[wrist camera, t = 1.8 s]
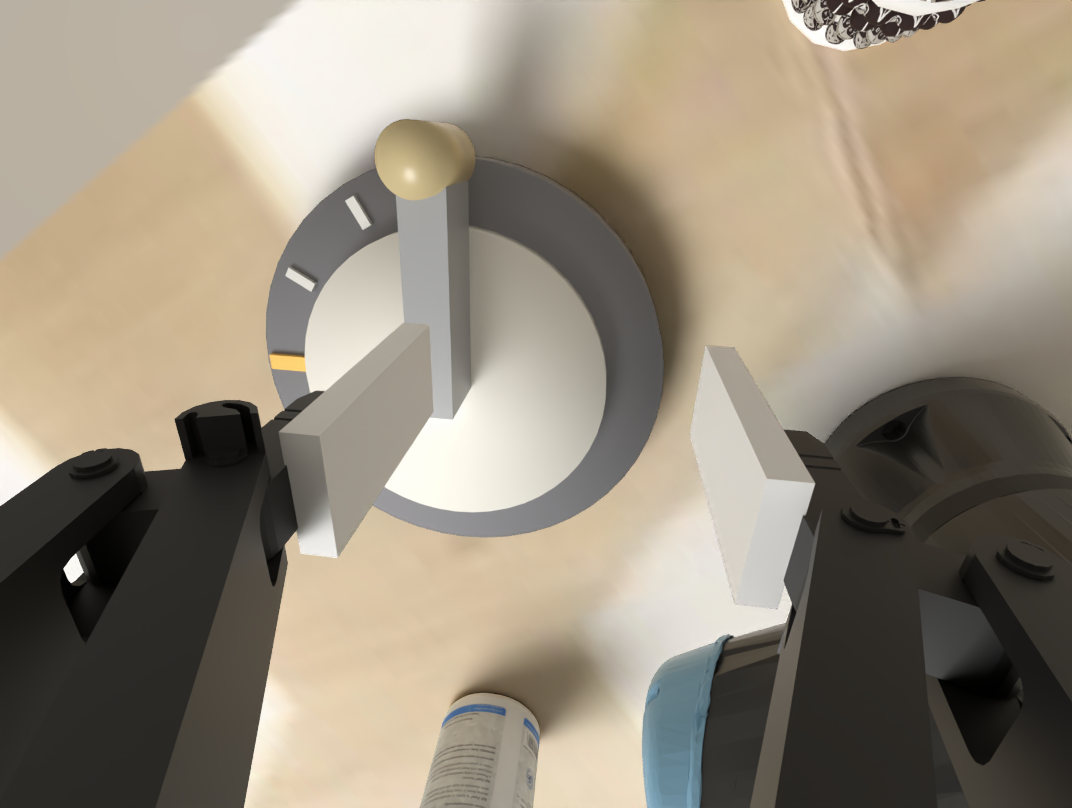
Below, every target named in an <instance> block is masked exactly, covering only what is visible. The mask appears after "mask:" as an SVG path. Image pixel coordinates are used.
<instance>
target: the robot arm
mask: <svg viewBox="0 0 1072 808" xmlns="http://www.w3.org/2000/svg"><path fill="white" fill-rule="evenodd" d="M432 413H433V390H432V369H431V347H430V326H429V325H427V324H413V323H402V324H401V325H400V326H399V327H398V328H397V329H396V330H394V331H393V332H392V333H391V334H390V335H389V336H388V337H386V338H385V339H384V340H383V341H382V342H381V343H380V344H378V345H377V346H376V347H375V348H374V349H373V350H372V351H370V352H369V353H368V354H367V355H366V356H365V357H364V358H362V359H361V360H360V361H359V362H358V363H357V364H356V365H354V366H353V367H352V368H351V369H350V370H349V371H348V372H346V373H345V374H344V375H343V376H342V377H341V378H340V379H339V380H337V381H336V382H335V383H334V384H333V385H332V386H331V387H329V388H328V389H327V390H326V391H317V390H316V391H314V392H311V393H309V394H307V395H305V396H302V397H300V398H298V399H296V400H295V401H294V402H292V403H291V404H290V405H289V406H288V407H286V408H285V411H282V412H280V413H279V414H278V415H277V416H275V417H274V420H271V421H269V422H268V423H267V424H266V425H265V426H263V427H262V428H261V424H260V419H259V414H258V409H257V407H256V406H255V405H253V404H252V403H250V402H245V401H240V400H223V401H216V402H209V403H206V404H202V405H199V406H195V407H193V408H191V409H189V410H187V411H184V412H182V413H181V414H180V415H179V416H178V417H177V418H176V419H175V423H176V426H177V430H178V434H179V437H180V441H181V445H182V448H183V452H184V456H185V459H186V461H185V462H184V464H183V466H182V468H181V469H173V470H160V471H148V472H144V469H143V466H142V462H141V459H140V456H139V454H138V453H136V452H134V451H133V450H129V449H121V448H116V449H106V448H104V449H97V450H96V451H94V450H92V451H88V452H85V453H83V454H81V455H80V456H77V457H74V458H71V459H69V460H67V461H65V462H63V463H62V464H60V465H58V466H56V467H55V468H53V469H52V470H50V471H49V472H48V473H46V474H45V475H43V476H42V477H41V478H39V479H38V480H36V481H35V482H34V483H32V484H31V485H29V486H28V487H27V488H25V489H24V490H22V491H21V492H20V493H18V494H17V495H15V496H14V497H13V498H11V499H10V500H8V501H7V502H6V503H4V504H3V505H1V506H0V808H244V803H245V798H246V792H247V787H248V781H249V775H250V770H251V764H252V759H253V753H254V748H255V742H256V737H257V731H258V725H259V720H260V714H261V709H262V703H263V698H264V692H265V687H266V681H267V676H268V670H269V664H270V659H271V653H272V648H273V642H274V637H275V631H276V626H277V620H278V614H279V609H280V603H281V598H282V592H283V587H284V581H285V576H286V570H287V564H288V562H287V555H286V550H285V544H286V542H287V541H288V540H289V539H290V537H291V536H292V535H293V534H294V532H295V531H296V530H297V536H298V541H299V546H300V552H301V554H308V555H317V556H325V557H334V558H338V557H339V555H340V554H341V552H342V551H343V549H344V547H345V546H346V544H347V543H348V541H349V540H350V538H351V537H352V535H353V534H354V532H355V531H356V529H357V528H358V526H359V525H360V523H361V522H362V520H363V518H364V517H365V515H366V514H367V512H368V511H369V509H370V508H371V506H372V505H373V503H374V502H375V500H376V499H377V497H378V496H379V494H380V493H381V491H382V490H383V488H384V486H385V485H386V483H387V482H388V480H389V479H390V477H391V476H392V474H393V473H394V471H395V470H396V468H397V467H398V465H399V464H400V462H401V461H402V459H403V458H404V456H405V454H406V453H407V451H408V450H409V448H410V447H411V445H412V444H413V442H414V441H415V439H416V438H417V436H418V435H419V433H420V432H421V430H422V429H423V427H424V425H425V424H426V422H427V421H428V419H429V418H430V416H431V415H432ZM690 438H691V441H692V445H693V449H694V453H695V456H696V460H697V464H698V468H699V472H700V475H701V479H702V483H703V487H704V490H705V494H706V498H707V502H708V505H709V509H710V513H711V517H712V521H713V524H714V528H715V532H716V536H717V539H718V543H719V547H720V551H721V554H722V558H723V562H724V566H725V570H726V573H727V577H728V581H729V585H730V588H731V592H732V596H733V600H734V603H735V604H737V605H745V606H754V607H763V608H771V609H778V605H779V602H780V599H781V596H782V592H783V589H784V586H786V588H787V591H788V594H789V596H790V599H791V601H792V606H791V609H790V612H789V616H788V619H787V622H786V623H784V624H780V625H777V626H773V627H770V628H766V629H762V630H759V631H755V632H752V633H748V634H745V635H741V636H738V637H734V636H731V635H729V634H728V635H724V636H722V637H720V638H718V640H717V641H716V642H715V643H712V644H709V645H706V646H703V647H701V648H698V649H695V650H692V651H689V652H686V653H683V654H680V655H677V656H675V657H673V658H671V659H669V660H668V661H666V662H665V663H664V664H663V665H662V666H661V667H660V668H659V669H658V671H657V672H656V674H655V676H654V677H653V679H652V682H651V684H650V687H649V690H648V694H647V699H646V705H645V712H644V717H643V732H642V758H643V774H644V785H645V794H646V802H647V808H1072V438H1071V436H1070V435H1069V433H1068V432H1067V430H1066V429H1065V428H1064V426H1063V425H1062V424H1061V423H1060V422H1059V421H1058V420H1057V419H1056V418H1055V417H1054V416H1053V415H1052V414H1050V413H1049V412H1048V411H1047V410H1045V409H1044V408H1042V407H1041V406H1039V405H1038V404H1036V403H1035V402H1033V401H1031V400H1030V399H1028V398H1027V397H1025V396H1023V395H1022V394H1020V393H1018V392H1016V391H1015V390H1013V389H1011V388H1008V387H1006V386H1004V385H1001V384H998V383H994V382H990V381H986V380H981V379H974V378H939V379H932V380H926V381H921V382H917V383H913V384H910V385H906V386H903V387H900V388H898V389H895V390H893V391H890V392H888V393H886V394H884V395H881V396H880V397H878V398H876V399H874V400H872V401H871V402H869V403H867V404H866V405H864V406H863V407H861V408H860V409H858V410H857V411H856V412H854V413H853V414H852V415H851V416H849V417H848V418H847V419H846V420H845V421H844V422H843V423H842V424H841V425H840V426H839V427H838V428H837V429H836V430H835V431H834V432H833V434H832V435H831V436H830V437H829V439H828V440H827V441H826V443H825V444H823V443H822V442H821V441H819V440H818V439H816V438H815V437H813V436H812V435H810V434H809V433H808V432H804V431H793V430H783V428H782V426H781V425H780V423H779V421H778V420H777V418H776V416H775V415H774V413H773V411H772V410H771V408H770V406H769V405H768V403H767V401H766V399H765V398H764V396H763V394H762V393H761V391H760V389H759V388H758V386H757V384H756V383H755V381H754V379H753V378H752V376H751V374H750V373H749V371H748V369H747V367H746V366H745V364H744V362H743V361H742V359H741V357H740V356H739V354H738V352H737V351H736V349H735V347H722V346H708V345H706V346H705V352H704V357H703V363H702V369H701V374H700V380H699V385H698V391H697V397H696V402H695V408H694V413H693V419H692V425H691V430H690ZM75 554H77V556H78V559H79V561H80V564H81V566H82V569H83V571H84V573H83V574H82V575H81V576H80V577H79V578H78V579H77V580H76V581H74V582H73V583H70V582H69V581H68V579H67V577H66V574H65V572H64V570H63V568H64V567H65V566H66V564H67V563H68V561H69V560H70V559H71V557H72V556H74V555H75Z"/></svg>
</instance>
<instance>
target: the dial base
mask: <svg viewBox="0 0 1072 808" xmlns="http://www.w3.org/2000/svg"><path fill="white" fill-rule="evenodd" d="M475 157H476V161H475V168H474V171H473V174H472V176H471V177H470V179H469V180H468V195H469V226H476V227H480V228H484V229H488V230H491V231H495V232H498V233H500V234H503V235H505V236H508V237H510V238H512V239H515V240H517V241H519V242H521V243H522V244H524V245H526V246H528V247H529V248H531V249H533V250H534V251H536V252H537V253H539V254H540V255H541V256H543V257H544V258H545V259H547V260H548V261H549V262H550V263H552V264H553V265H554V266H555V267H556V268H557V269H558V270H559V271H560V272H561V273H562V274H563V275H564V276H565V277H566V278H567V279H568V280H569V281H570V282H571V284H572V285H573V286H574V288H575V289H576V290H577V292H578V293H579V294H580V295H581V297H582V299H583V300H584V302H585V304H586V305H587V307H588V309H589V311H590V312H591V314H592V316H593V319H594V321H595V324H596V326H597V329H598V331H599V334H600V337H601V341H602V345H603V349H604V354H605V363H606V400H605V406H604V412H603V417H602V420H601V423H600V426H599V430H598V433H597V435H596V437H595V439H594V441H593V443H592V445H591V447H590V449H589V451H588V452H587V454H586V455H585V457H584V458H583V459H582V461H581V462H580V464H579V465H578V466H577V467H576V468H575V469H574V470H573V471H572V472H571V474H570V475H569V476H568V477H567V478H565V479H564V480H563V481H562V482H560V483H559V484H558V485H557V486H556V487H554V488H553V489H551V490H549V491H548V492H546V493H544V494H543V495H541V496H540V497H537V498H535V499H533V500H531V501H528V502H526V503H524V504H520V505H517V506H514V507H510V508H507V509H501V510H495V511H488V512H457V511H450V510H444V509H438V508H434V507H430V506H427V505H423V504H420V503H417V502H415V501H412V500H410V499H407V498H404V497H402V496H400V495H398V494H397V493H395V492H393V491H391V490H389V489H387V488H385V487H384V488H383V490H382V491H381V493H380V494H379V496H378V497H377V499H376V500H375V502H374V503H373V506H374V507H376V508H378V509H380V510H382V511H384V512H386V513H388V514H390V515H392V516H393V517H395V518H398V519H400V520H403V521H405V522H408V523H410V524H413V525H416V526H418V527H422V528H426V529H429V530H433V531H437V532H440V533H446V534H452V535H458V536H468V537H504V536H512V535H518V534H524V533H530V532H533V531H537V530H540V529H544V528H547V527H551V526H553V525H555V524H558V523H560V522H562V521H565V520H567V519H570V518H572V517H573V516H575V515H577V514H578V513H580V512H582V511H584V510H585V509H587V508H589V507H590V506H592V505H593V504H594V503H596V502H597V501H598V500H600V499H601V498H602V497H603V496H605V495H606V494H607V493H608V492H609V491H610V490H611V489H612V488H613V487H614V486H615V485H616V484H617V483H618V482H619V481H620V480H621V479H622V478H623V477H624V476H625V475H626V473H627V472H628V471H629V469H630V468H631V467H632V465H633V464H634V463H635V461H636V460H637V458H638V457H639V455H640V453H641V451H642V449H643V448H644V446H645V444H646V442H647V440H648V438H649V436H650V433H651V430H652V428H653V425H654V423H655V420H656V417H657V413H658V409H659V404H660V400H661V395H662V387H663V373H664V361H663V346H662V338H661V333H660V329H659V324H658V319H657V315H656V311H655V307H654V303H653V300H652V297H651V294H650V292H649V289H648V286H647V283H646V281H645V278H644V276H643V274H642V272H641V270H640V268H639V266H638V264H637V262H636V261H635V259H634V257H633V255H632V253H631V252H630V250H629V249H628V247H627V246H626V245H625V243H624V242H623V240H622V239H621V238H620V236H619V235H618V233H617V232H616V231H615V230H614V229H613V227H612V226H611V225H610V224H609V223H608V222H607V221H606V220H605V219H604V218H603V217H602V216H601V215H600V214H599V213H598V212H597V211H596V210H595V209H594V208H593V207H592V206H590V205H589V204H588V203H587V202H585V201H584V200H583V199H582V198H580V197H579V196H578V195H577V194H575V193H574V192H573V191H571V190H569V189H568V188H566V187H564V186H563V185H561V184H559V183H558V182H556V181H554V180H553V179H551V178H549V177H547V176H545V175H542V174H540V173H538V172H535V171H533V170H531V169H528V168H526V167H523V166H520V165H517V164H513V163H509V162H505V161H502V160H498V159H494V158H485V157H477V156H475ZM395 232H398V221H397V206H396V195H395V194H394V193H392V192H391V191H390V190H389V189H388V188H387V187H386V186H385V185H384V183H383V182H382V180H381V178H380V176H379V174H378V172H377V169H374V170H371V171H369V172H366V173H365V174H363V175H361V176H359V177H357V178H355V179H353V180H351V181H349V182H347V183H346V184H344V185H342V186H341V187H340V188H338V189H337V190H336V191H334V192H333V193H332V194H330V195H329V196H328V197H326V198H325V199H324V200H322V201H321V202H320V203H319V204H318V205H317V206H316V207H315V208H314V209H313V210H312V212H311V213H310V214H309V215H308V216H307V217H306V218H305V219H304V220H303V221H302V223H301V224H300V226H299V227H298V228H297V230H296V231H295V233H294V234H293V236H292V237H291V238H290V240H289V242H288V244H287V246H286V248H285V250H284V252H283V254H282V256H281V258H280V260H279V262H278V264H277V268H276V271H275V274H274V277H273V280H272V284H271V287H270V293H269V299H268V305H267V312H266V340H267V349H268V357H269V363H270V367H271V371H272V375H273V379H274V383H275V386H276V389H277V391H278V394H279V397H280V399H281V402H282V404H283V407H284V409H285V408H286V407H288V406H289V405H290V404H291V403H292V402H294V401H295V400H296V399H298V398H300V397H302V396H305V395H307V394H309V393H310V389H309V385H308V380H307V375H306V366H305V339H306V333H307V328H308V322H309V318H310V315H311V313H312V310H313V307H314V304H315V302H316V300H317V298H318V296H319V294H320V292H321V291H322V289H323V287H324V285H325V284H326V283H327V281H328V280H329V279H330V277H331V276H332V275H333V273H334V272H335V271H336V270H337V269H338V268H339V267H340V266H341V265H342V264H343V263H344V262H345V261H346V260H347V259H348V258H349V257H351V256H352V255H353V254H355V253H356V252H358V251H359V250H361V249H362V248H364V247H365V246H367V245H369V244H371V243H373V242H375V241H377V240H379V239H381V238H383V237H385V236H388V235H390V234H392V233H395Z"/></svg>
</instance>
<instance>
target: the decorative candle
mask: <svg viewBox="0 0 1072 808" xmlns="http://www.w3.org/2000/svg"><path fill="white" fill-rule="evenodd" d="M980 1H985V0H782V2H783V4H784V7H785V10H786V12H787V15H788V18H789V20H790V22H791V23H792V24H793V25H794V26H795V27H796V28H797V29H798V30H800V31H801V32H802V33H803V34H804V35H805V36H806V37H807V38H808V39H809V40H810V41H811V42H812V43H814V44H818V45H822V46H825V47H829V48H833V49H837V50H840V51H849V50H854V49H863V48H866V47H870V46H876V45H880V44H882V43H884V42H885V41H888V42H895V41H897V40H898V39H900V38H901V37H902V36H903V37H911V36H912V35H914V34H915V33H916V32H917V31H918V30H919V28H920V29H924V30H928V29H930V28H932V27H934V26H935V25H937V24H938V23H939V22H940V23H949V22H951V21H953V20H954V19H956V18H957V17H958V16H959V15H960V14H961V13H962V12H963V11H964V9H965V8H966V7H967V6H969V5H971V4H972V3H974V2H980Z"/></svg>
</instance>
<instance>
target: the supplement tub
mask: <svg viewBox="0 0 1072 808" xmlns="http://www.w3.org/2000/svg"><path fill="white" fill-rule="evenodd" d="M539 739H540V729H539V725H538V722H537V720H536V718H535V717H534V715H533V714H532V713H531V712H530V711H529V710H528V709H527V708H526V707H525V706H524V705H522V704H521V703H519V702H518V701H516V700H514V699H512V698H509V697H506V696H502V695H497V694H491V693H476V694H471V695H468V696H465V697H463V698H461V699H459V700H457V701H456V702H455V703H453V704H452V705H451V706H450V708H449V709H448V711H447V712H446V714H445V717H444V721H443V724H442V728H441V731H440V735H439V739H438V742H437V746H436V750H435V753H434V757H433V761H432V764H431V768H430V772H429V775H428V779H427V783H426V787H425V790H424V794H423V798H422V801H421V805H420V808H533V800H534V790H535V780H536V771H537V760H538V750H539Z"/></svg>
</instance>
